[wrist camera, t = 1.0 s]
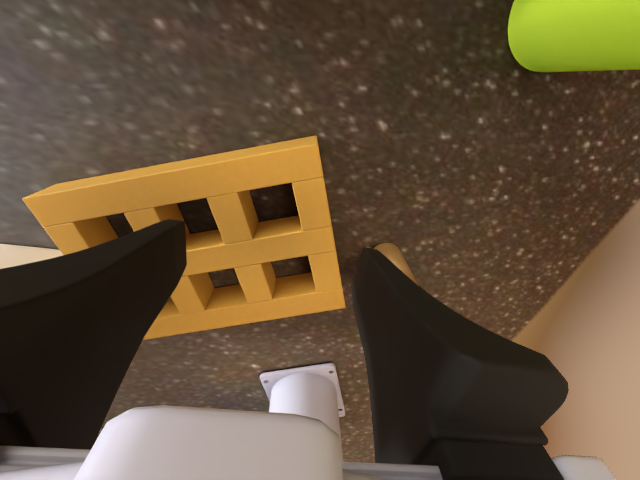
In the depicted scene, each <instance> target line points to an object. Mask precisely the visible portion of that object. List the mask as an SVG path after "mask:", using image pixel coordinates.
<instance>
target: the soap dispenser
mask: <svg viewBox="0 0 640 480" xmlns="http://www.w3.org/2000/svg"><path fill="white" fill-rule="evenodd" d="M508 41H509V46H510V49H511V52H512V54H513V56H514V58H515V59H516V60H517V62H518V63H519V64H520V65H522V66H523V67H524V68H526V69H528V70H531V71H535V72H570V71H605V70H640V0H514V2H513V5H512V8H511V12H510V16H509V22H508Z"/></svg>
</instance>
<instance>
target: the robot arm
mask: <svg viewBox="0 0 640 480" xmlns="http://www.w3.org/2000/svg"><path fill="white" fill-rule="evenodd" d="M186 265H187V256H186V231H185V221H179V220H172V219H167V220H163V221H160V222H158V223H155V224H152V225H150V226H147V227H145V228H142V229H140V230H137V231H135V232H132V233H130V234H127V235H125V236H122V237H119V238H116V239H114V240H111V241H108V242H105V243H102V244H99V245H97V246H94V247H91V248H87V249H84V250H81V251H77V252H74V253H70V254H66V255H63V256H59V257H55V258H51V259H46V260H42V261H37V262H32V263H28V264H23V265H18V266H14V267H8V268H3V269H0V480H617V479H616V477H615V476H614V475H613V474H612V472H611V471H610V470H609V468H608V467H607V466H606V464H605V463H604V462H603V461H602V459H600V458H597V457H590V456H571V455H563V456H557V457H554V458H552V459H551V458H550V456H549V455H548V453H547V451H546V450H545V448H544V447H543V445H546V444H547V443H548V439H547V437H546V436H545V434H544V433H543V431H542V430H541V428H540V427H541V426H542V425H543V424H544V423H545V421H547V420H548V419H549V418H550V416H552V415H553V414H554V413H555V412H556V411H557V410H558V409H559V407H560V406H561V405H562V404H563V402H564V401H565V399H566V397H567V394H568V383H567V381H566V380H565V378H564V377H563V376H562V375H561V373H560V372H559V371H558V370H557V369H556V367H555V366H554V365H553V364H552V363H551V362H550V360H549V359H548V358H547V357H546V356H545V355H543V354H541V353H538V352H536V351H533V350H531V349H529V348H526V347H524V346H522V345H519V344H517V343H514V342H512V341H510V340H508V339H505V338H503V337H501V336H499V335H497V334H495V333H493V332H491V331H489V330H487V329H485V328H483V327H481V326H479V325H477V324H475V323H474V322H472V321H470V320H468V319H467V318H465V317H463V316H462V315H460V314H458V313H456V312H455V311H453V310H452V309H450V308H448V307H447V306H445V305H444V304H443V303H441V302H440V301H438V300H437V299H435V298H434V297H432V296H431V295H430V294H428V293H427V292H426V291H425V290H423V289H422V288H421V287H420V286H418V285H417V284H416V283H415V282H413V281H412V280H411V279H410V278H409V277H408V276H407V275H405V274H404V273H403V272H402V271H401V270H400V269H399V268H398V267H397V266H395V265H394V264H393V263H392V262H391V261H390V260H389V259H388V258H387V257H386V256H385V255H383V254H382V253H381V252H380V251H379V250H377V249H370V248H363V250H362V253H361V256H360V260H359V263H358V266H357V269H356V273H355V276H354V279H353V282H352V299H353V307H354V312H355V316H356V321H357V325H358V329H359V333H360V337H361V341H362V346H363V350H364V355H365V360H366V366H367V374H368V382H369V391H370V401H371V410H372V422H373V435H374V449H375V463H366V462H344V461H343V455H342V444H341V434H340V424H339V417H343V416H345V408H344V404H343V399H342V395H341V390H340V386H339V381H338V377H337V372H336V368H335V365H334V364H333V363H326V364H320V365H313V366H306V367H300V368H293V369H286V370H279V371H273V372H266V373H262V374H261V375H260V380H261V382H262V385H263V387H264V389H265V391H266V394H267V396H268V398H269V401H270V408H269V412H260V411H245V410H230V409H215V408H200V407H185V406H170V405H158V406H146V407H135V408H133V409H130V410H128V411H126V412H124V413H122V414H120V415H119V416H117V417H115V418H113V419H111V420H109V421H108V422H107V423H106V425H105V426H104V428H103V430H102V432H101V433H100V435H99V437H98V438H97V436H98V434H99V431H100V429H101V426H102V424H103V422H104V420H105V417H106V415H107V413H108V411H109V408H110V406H111V404H112V402H113V399H114V397H115V395H116V393H117V391H118V388H119V386H120V384H121V382H122V380H123V378H124V376H125V374H126V372H127V370H128V367H129V365H130V363H131V361H132V359H133V358H134V356H135V354H136V352H137V350H138V348H139V346H140V344H141V342H142V340H143V338H144V337H145V335H146V333H147V332H148V330H149V328H150V327H151V325H152V324H153V322H154V321H155V319H156V318H157V316H158V315H159V313H160V312H161V310H162V309H163V307H164V306H165V304H166V303H167V301H168V299H169V298H170V296H171V295H172V293H173V292H174V290H175V289H176V287H177V285H178V283H179V281H180V279H181V277H182V275H183V272H184V270H185V268H186ZM96 438H97V440H96ZM95 441H96V442H95ZM94 443H95V444H94Z"/></svg>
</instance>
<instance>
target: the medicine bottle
mask: <svg viewBox="0 0 640 480" xmlns="http://www.w3.org/2000/svg"><path fill="white" fill-rule="evenodd" d="M59 256H63V254H62V252H61V251H60V250H58V249H48V248H38V247H29V246H19V245H9V244H0V269H3V268H8V267H14V266H18V265H23V264H28V263H32V262H37V261H42V260H46V259H51V258H55V257H59Z"/></svg>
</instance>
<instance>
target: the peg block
mask: <svg viewBox="0 0 640 480" xmlns="http://www.w3.org/2000/svg"><path fill="white" fill-rule="evenodd" d="M291 182H292V187H293V191H294V196H295V200H296V205H297V209H298V213H299V215H297V216H292V217H286V218H280V219H274V220H269V221H263V222H259V221H258V217H257V214H256V211H255V208H254V205H253V201H252V198H251V195H250V192H249V190H252V189H258V188H264V187H269V186H275V185H280V184H286V183H291ZM203 198H207V201H208V203H209V206H210V208H211V211H212V214H213V216H214V219H215V221H216V224H217V226H218V229H217V230H211V231H206V232H200V233H194V234H190V232H189V230H188V228H187V225H186V223H185V231H186V256H187V265H186V268H185V270H184V272H183V275H182V277H181V279H180V281H179V283H178V285H177V287H176V289H175V290H174V292H173V293H172V295H171V296H170V298H169V299H168V301H167V303H166V304H165V306H164V307H163V309H162V310H161V312H160V313H159V315H158V316H157V318H156V319H155V321H154V322H153V324H152V325H151V327H150V328H149V330H148V332H147V333H146V335H145V337H144V338H143V340H145V339H152V338H158V337H164V336H171V335H177V334H183V333H190V332H196V331H202V330H209V329H215V328H221V327H228V326H234V325H240V324H247V323H253V322H259V321H266V320H272V319H278V318H285V317H291V316H297V315H304V314H310V313H316V312H323V311H329V310H335V309H342V308H345V301H344V295H343V289H342V283H341V277H340V271H339V265H338V259H337V253H336V247H335V241H334V236H333V230H332V224H331V218H330V212H329V206H328V200H327V194H326V188H325V182H324V176H323V170H322V164H321V158H320V152H319V146H318V141H317V136H310V137H305V138H299V139H294V140H289V141H283V142H278V143H273V144H267V145H262V146H257V147H251V148H246V149H241V150H235V151H230V152H225V153H219V154H214V155H209V156H203V157H198V158H193V159H187V160H182V161H177V162H171V163H166V164H161V165H155V166H150V167H145V168H139V169H134V170H129V171H123V172H118V173H113V174H107V175H102V176H96V177H91V178H86V179H80V180H75V181H70V182H64V183H59V184H55V185H53V186H51V187H48V188H46V189H44V190H41V191H39V192H36V193H34V194H32V195H29V196H27V197H24V198H23V201H24V202H25V203H26V205H27V206H28V207H29V209H30V210H31V212H32V213H33V214H34V216H35V217H36V218H37V220H38V221H39V222H40V224H41V225H42V227H44V229H45V231H46V232H47V233H48V235H49V236H50V237H51V239H52V240H53V241H54V243H55V244H56V246H57V247H58V248H59V250H60V251H61V252H62V254H63V255H66V254H70V253H74V252H77V251H81V250H84V249H87V248H91V247H94V246H97V245H99V244H102V243H105V242H108V241H111V240H114V239H116V238H119V237H118V236H117V234H116V232H115V231H114V229H113V227H112V226H111V224H110V222H109V221H108V219H107V217H106V216H108V215H114V214H119V213H124V215H125V216H126V218H127V220H128V222H129V223H130V225H131V227H132V229H133V231H134V232H135V231H137V230H140V229H142V228H145V227H147V226H150V225H152V224H155V223H158V222H160V221H163V220H167V219H172V220H179V221H184V219H183V217H182V214H181V212H180V210H179V208H178V205H177V203H180V202H186V201H191V200H197V199H203ZM307 255H308V257H309V262H310V266H311V270H312V272H310V273H304V274H298V275H292V276H286V277H280V278H276V276H275V273H274V270H273V267H272V263H271V262H272V261H278V260H284V259H290V258H296V257H302V256H307ZM230 268H234V269H235V272H236V274H237V277H238V279H239V282H240V284H237V285H231V286H225V287H219V288H214V285H213V283H212V281H211V279H210V276H209V274H208V272H212V271H218V270H224V269H230Z"/></svg>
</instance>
